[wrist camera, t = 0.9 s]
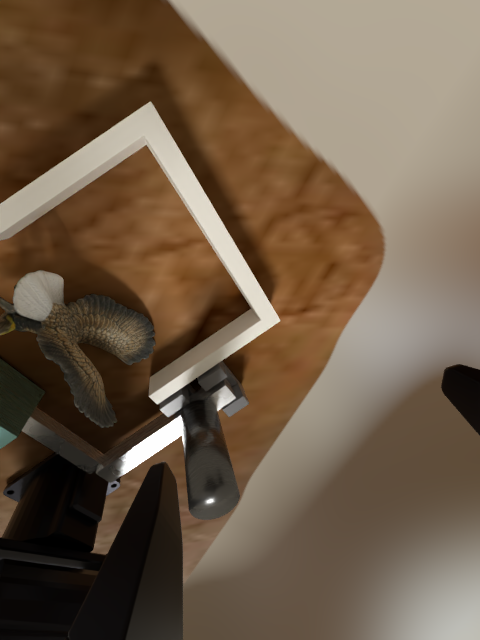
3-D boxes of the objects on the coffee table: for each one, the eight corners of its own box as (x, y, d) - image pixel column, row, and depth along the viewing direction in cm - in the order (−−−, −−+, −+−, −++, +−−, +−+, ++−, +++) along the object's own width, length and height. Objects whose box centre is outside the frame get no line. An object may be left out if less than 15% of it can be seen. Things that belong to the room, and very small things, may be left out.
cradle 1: (191, 418, 25) (195, 442, 23) (158, 385, 23) (158, 407, 20) (210, 406, 25) (215, 428, 23) (178, 372, 23) (180, 392, 20)
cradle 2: (223, 397, 25) (230, 418, 23) (193, 362, 23) (197, 381, 20) (241, 384, 25) (250, 404, 23) (212, 348, 23) (219, 366, 20)
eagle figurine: (-18, 367, 18) (112, 425, 20) (-94, 359, 11) (108, 446, 14) (59, 276, 21) (165, 336, 23) (33, 229, 14) (183, 318, 16)
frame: (157, 384, 23) (157, 404, 21) (-7, 223, 16) (-34, 227, 14) (268, 309, 23) (280, 320, 21) (152, 115, 16) (150, 101, 14)
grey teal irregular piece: (113, 463, 24) (85, 609, 16) (-38, 358, 18) (-225, 504, 9) (232, 382, 24) (271, 483, 16) (123, 249, 18) (87, 292, 9)
